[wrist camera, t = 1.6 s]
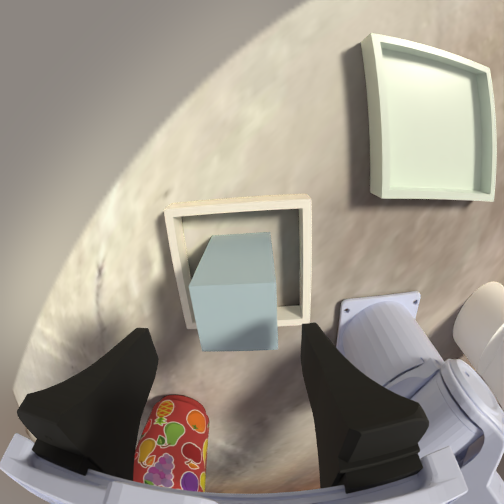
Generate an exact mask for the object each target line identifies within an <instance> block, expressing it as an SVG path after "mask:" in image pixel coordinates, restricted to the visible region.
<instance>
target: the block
mask: <svg viewBox="0 0 504 504" xmlns="http://www.w3.org/2000/svg"><path fill="white" fill-rule="evenodd" d="M189 290H190V296H191V301H192V306H193V310H194V315H195V320H196V325H197V329H198V334H199V338H200V343H201V347H202V351H254V350H275V349H278V328H277V297H276V278H275V269H274V260H273V252H272V243H271V235H270V232H263V233H246V234H230V235H215V236H212V237H211V239H210V241H209V243H208V246H207V248H206V250H205V252H204V254H203V256H202V258H201V260H200V263H199V265H198V267H197V269H196V271H195V273H194V276H193V278H192V280H191V282H190V285H189Z"/></svg>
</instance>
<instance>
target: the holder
mask: <svg viewBox="0 0 504 504" xmlns="http://www.w3.org/2000/svg"><path fill="white" fill-rule="evenodd" d="M298 208H299V241H300V305H297V306H282V307H277V327H278V326H293V325H302V324H305V323H310V305H311V267H312V208H311V198H310V197H309V196H308V195H307V194H288V195H268V196H252V197H237V198H224V199H212V200H201V201H190V202H180V203H172V204H170V205H169V206H168V207H166V208H165V209H164V215H165V222H166V228H167V234H168V240H169V246H170V251H171V257H172V262H173V267H174V272H175V277H176V282H177V287H178V292H179V296H180V301H181V306H182V310H183V314H184V319H185V323H186V327H187V329H197V325H196V320H195V315H194V310H193V306H192V301H191V296H190V290H189V285H190V282H191V275H190V269H189V263H188V257H187V251H186V245H185V238H184V232H183V225H182V218H181V216H192V215H204V214H216V213H230V212H244V211H260V210H278V209H298Z"/></svg>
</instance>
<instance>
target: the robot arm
mask: <svg viewBox="0 0 504 504" xmlns="http://www.w3.org/2000/svg"><path fill="white" fill-rule="evenodd" d="M420 297H421V295H420V293H419V292H418V291H414V292H406V293H398V294H390V295H381V296H372V297H362V298H352V299H345V300H343V301H342V303H341V309H340V318H339V327H338V335H337V343H336V347H335V346H334V345H333V344H332V342H331V341H330V340H329V339H328V338H327V336H326V335H325V334H324V333H323V331H322V330H321V328H320V327H319V326H318V324H316V323H305V324H302V340H301V363H302V371H303V377H304V381H305V385H306V389H307V393H308V396H309V400H310V404H311V408H312V412H313V417H314V423H315V431H316V439H317V448H318V459H319V471H320V487H321V489H314V490H306V491H297V492H285V493H268V494H225V493H208V492H197V491H187V490H179V489H172V488H166V487H160V486H154V485H149V484H144V483H139V482H135V481H133V472H134V458H135V448H136V442H137V435H138V430H139V425H140V420H141V416H142V413H143V410H144V407H145V404H146V401H147V398H148V396H149V393H150V390H151V387H152V384H153V382H154V379H155V375H156V371H157V366H158V360H159V359H158V356H157V353H156V350H155V347H154V344H153V341H152V339H151V335H150V332H149V329H148V328H136V329H135V330H134V331H132V332H131V333H130V334H129V335H128V336H127V337H125V338H124V339H123V340H122V341H121V342H120V343H118V344H117V345H116V346H115V347H114V348H113V349H112V350H110V351H109V352H108V353H107V354H105V355H104V356H103V357H102V358H100V359H99V360H98V361H96V362H95V363H94V364H92V365H91V366H90V367H88V368H87V369H85V370H83V371H82V372H80V373H79V374H77V375H75V376H73V377H71V378H69V379H67V380H66V381H64V382H62V383H59V384H57V385H55V386H52V387H50V388H47V389H44V390H41V391H37V392H34V393H30V394H27V396H26V397H25V399H24V400H23V402H22V404H21V405H20V407H19V409H18V410H17V414H18V417H19V419H20V420H21V421H22V423H23V424H24V425H25V426H26V427H27V429H28V430H29V431H30V432H31V433H32V434H33V435H34V436H35V437H36V438H37V440H36V442H35V443H34V442H33V441H31V440H30V439H28V438H26V437H24V436H22V435H20V434H18V433H15V435H14V437H13V438H12V440H11V442H10V444H9V446H8V448H7V450H6V452H5V454H4V456H3V458H2V460H1V462H0V469H1V470H2V471H4V472H5V473H6V474H7V475H8V476H10V477H11V478H12V479H13V480H15V481H16V482H17V483H19V484H20V485H22V486H23V487H24V488H25V489H27V490H28V491H30V492H31V493H33V494H35V495H36V496H38V497H40V498H42V499H44V500H46V501H47V502H49V503H51V504H504V482H503V480H502V479H501V477H500V476H499V474H497V472H496V468H497V466H498V464H499V462H500V460H501V458H502V455H503V453H504V412H503V410H502V409H501V408H500V406H499V405H498V403H497V400H496V398H495V397H494V395H493V393H492V392H491V390H490V389H489V387H488V386H487V384H486V383H485V382H484V381H483V379H482V378H481V377H480V376H479V375H478V374H477V373H476V372H475V371H474V370H473V369H472V368H471V367H470V366H469V365H468V364H467V363H465V362H464V361H462V360H460V359H447V360H446V361H445V362H444V361H443V359H442V358H441V356H440V355H439V353H438V352H437V350H436V349H435V347H434V346H433V344H432V343H431V341H430V340H429V338H428V337H427V336H426V334H425V333H424V331H423V330H422V329H421V327H420V326H419V324H418V323H417V322H416V320H415V318H416V314H417V310H418V306H419V302H420ZM415 300H416V301H415ZM414 301H415V302H414ZM347 308H348V310H347V311H344V310H345V309H347Z"/></svg>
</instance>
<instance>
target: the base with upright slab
mask: <svg viewBox="0 0 504 504" xmlns="http://www.w3.org/2000/svg"><path fill="white" fill-rule="evenodd" d="M453 339H454V340H455V342H456V344H457V345H458V346H459V348H460V349H461V350H462V352H463V353H464V354H465V356H466V357H467V359H468V360H469V361H470V363H471V364H472V365H473V367H474V368H475V370H476V371H477V372H478V374H479V375H480V376H482V377H483V379H484V380H485V382H486V383H487V385H488V386H489V388H490V389H491V391H492V392H493V394H494V395H495V397H496V398H497V400H498V402H499V403H500V404H501V406H502V408H503V410H504V286H503V285H501V284H500V283H498V282H496V281H495V282H489V283H486V284H484V285H482V286H481V287H480V288H478V289H477V290H476V291H475V292H474V293H473V294H472V295H471V296H470V297H469V298H468V299H467V301H466V302H465V304H464V305H463V306H462V308H461V310H460V312H459V314H458V315H457V318H456V321H455V323H454V328H453Z"/></svg>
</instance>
